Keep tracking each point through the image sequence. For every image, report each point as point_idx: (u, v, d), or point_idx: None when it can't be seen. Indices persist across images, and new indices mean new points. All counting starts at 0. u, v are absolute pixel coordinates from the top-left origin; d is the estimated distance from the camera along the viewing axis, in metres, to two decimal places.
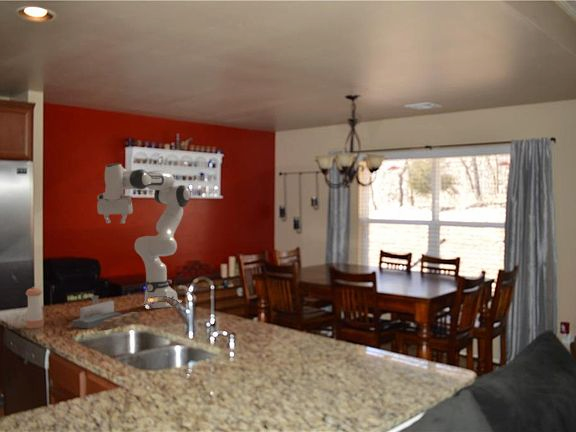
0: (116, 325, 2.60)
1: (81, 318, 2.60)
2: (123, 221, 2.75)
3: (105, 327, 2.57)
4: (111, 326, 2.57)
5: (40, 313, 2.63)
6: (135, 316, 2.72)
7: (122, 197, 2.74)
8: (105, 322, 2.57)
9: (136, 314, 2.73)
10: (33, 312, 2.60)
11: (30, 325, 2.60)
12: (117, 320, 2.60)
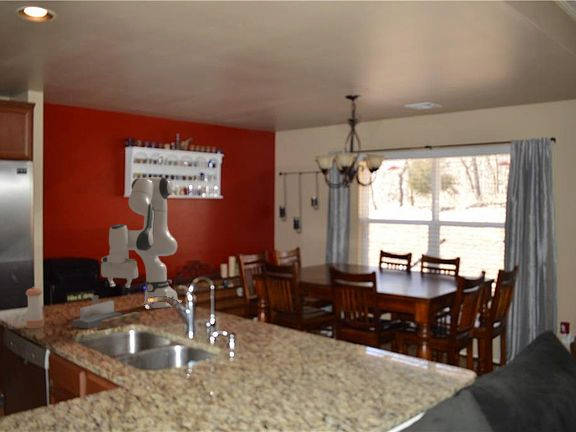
0: (114, 325, 2.60)
1: (81, 318, 2.60)
2: (128, 285, 2.62)
3: (103, 327, 2.58)
4: (109, 326, 2.57)
5: (40, 313, 2.63)
6: (137, 316, 2.71)
7: (127, 260, 2.62)
8: (103, 322, 2.57)
9: (137, 314, 2.72)
10: (33, 312, 2.60)
11: (30, 325, 2.60)
12: (116, 320, 2.60)
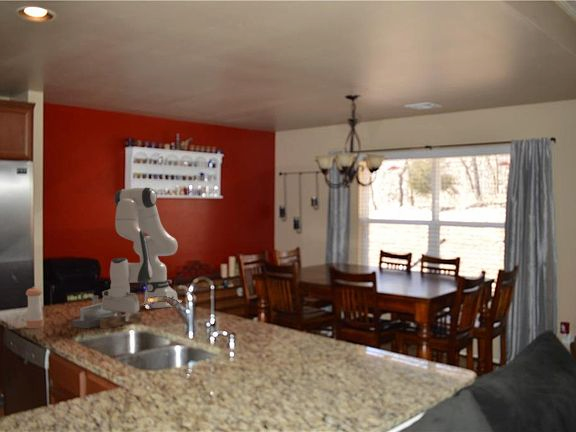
0: (112, 325, 2.60)
1: (81, 318, 2.60)
2: (126, 319, 2.64)
3: (101, 326, 2.59)
4: (106, 325, 2.58)
5: (40, 313, 2.63)
6: (138, 316, 2.70)
7: (128, 294, 2.62)
8: (101, 321, 2.58)
9: (139, 314, 2.71)
10: (33, 312, 2.60)
11: (30, 325, 2.60)
12: (114, 320, 2.61)
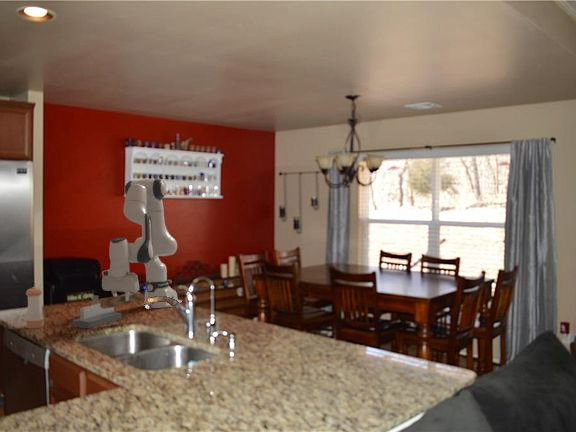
0: (113, 304, 2.60)
1: (81, 318, 2.60)
2: (126, 299, 2.64)
3: (101, 306, 2.58)
4: (107, 305, 2.57)
5: (40, 313, 2.63)
6: (138, 296, 2.71)
7: (128, 274, 2.62)
8: (101, 301, 2.58)
9: (138, 294, 2.71)
10: (33, 312, 2.60)
11: (30, 325, 2.60)
12: (114, 299, 2.61)
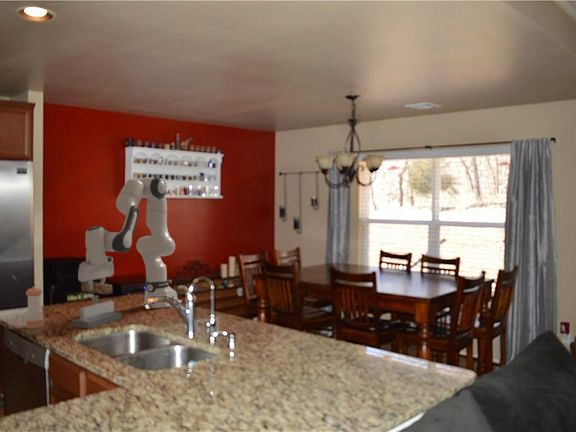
0: (86, 289, 2.71)
1: (81, 318, 2.60)
2: (90, 287, 2.65)
3: None
4: (82, 287, 2.73)
5: (40, 313, 2.63)
6: (102, 288, 2.62)
7: None
8: None
9: (103, 287, 2.62)
10: (33, 312, 2.60)
11: (30, 325, 2.60)
12: (87, 284, 2.70)
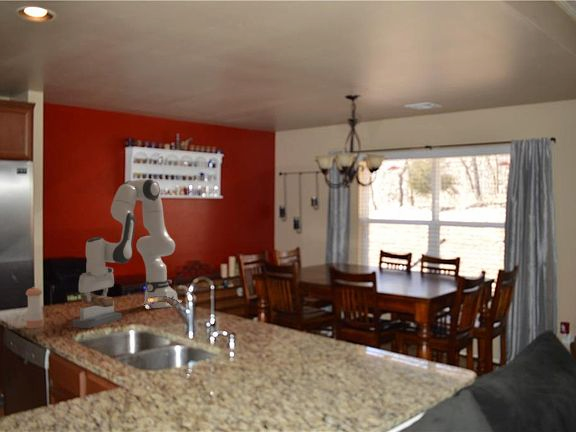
0: (86, 301, 2.71)
1: (81, 318, 2.60)
2: (88, 299, 2.64)
3: None
4: (83, 300, 2.73)
5: (40, 313, 2.63)
6: (103, 301, 2.62)
7: None
8: None
9: (104, 300, 2.62)
10: (33, 312, 2.60)
11: (30, 325, 2.60)
12: None
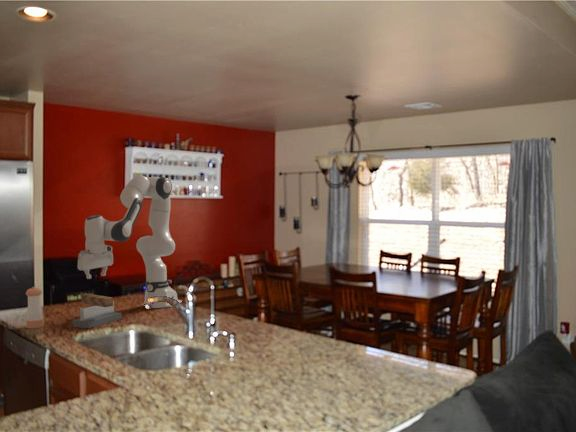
0: (86, 301, 2.71)
1: (81, 318, 2.60)
2: (87, 276, 2.64)
3: None
4: (83, 300, 2.73)
5: (40, 313, 2.63)
6: (103, 301, 2.62)
7: None
8: None
9: (104, 300, 2.62)
10: (33, 312, 2.60)
11: (30, 325, 2.60)
12: (87, 297, 2.70)
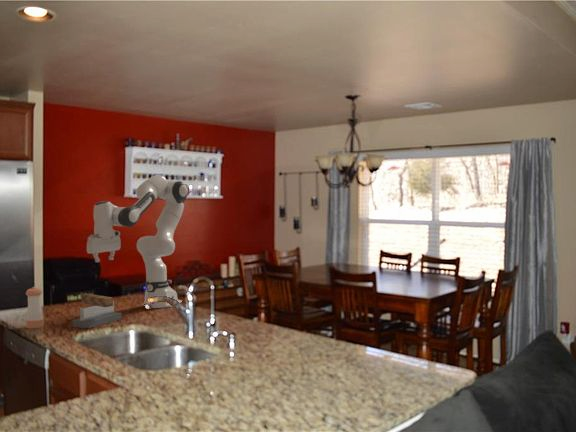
0: (86, 301, 2.71)
1: (81, 318, 2.60)
2: (96, 260, 2.73)
3: None
4: (83, 300, 2.73)
5: (40, 313, 2.63)
6: (103, 301, 2.62)
7: None
8: None
9: (104, 300, 2.62)
10: (33, 312, 2.60)
11: (30, 325, 2.60)
12: (87, 297, 2.70)
